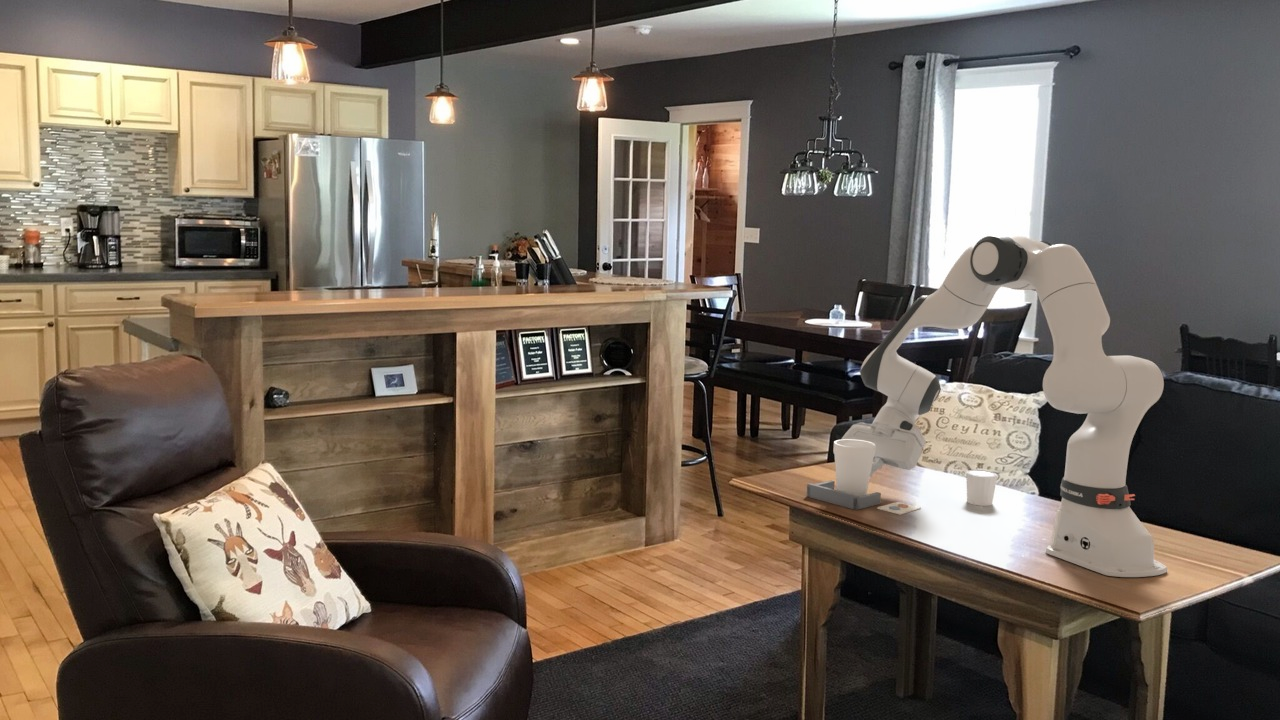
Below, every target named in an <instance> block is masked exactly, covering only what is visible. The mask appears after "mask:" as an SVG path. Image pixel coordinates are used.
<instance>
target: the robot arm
mask: <svg viewBox="0 0 1280 720" xmlns="http://www.w3.org/2000/svg"><path fill="white" fill-rule="evenodd" d="M1001 287H1004V288H1007V289H1011V290H1018V291H1035V292H1036V294H1037V297H1038V299H1039V303H1040V306H1041V308H1042V311H1043V313H1044V316H1045V319H1046V322H1047V325H1048V328H1049V331H1050V334H1051V337H1052V342H1053V343H1052V344H1053V354H1052V355H1053V356H1052V360H1051V363H1050V365H1049V366H1048V367H1047V369H1046V370H1045V373H1044V375H1043V379H1042V390H1043V395H1044V397H1045V399H1046V401H1047V402H1048V404H1049V405H1050V406H1051V407H1052V408H1054V409H1056V410H1059V411H1063V412H1067V413H1073V414H1077V415H1079V414H1080V415H1082V414H1085V415H1086V414H1087V416H1086V418H1085V420H1084V421H1083V423H1082V425H1081V426H1080V427H1079V428H1078V429H1077V430H1076V431H1075V432H1073V434H1071V436H1070V437H1069V439H1068V440H1067V446H1066V454H1065V455H1066V456H1065V468H1064V476H1063V477H1062V479H1061V483H1060V487H1059V488H1060V491H1059V492H1060V494H1059V495H1060V497H1061V501H1060V504H1059V507H1058V509H1057V511H1056V513H1055V518H1054V523H1053V528H1052V534H1051V537H1050V538H1051V539H1050V542H1049V545H1048V546H1046V549H1045V553H1046V554H1048V555H1050V556H1052V557H1056V558H1059V559H1060V560H1064V561H1066V562H1069V563H1072V564H1075V565H1077V566H1080V567H1083V568H1084V569H1085V568H1086V569H1088V570H1091V571H1094V572H1096V573H1098V574H1102V575H1104V576H1109V577H1118V578H1119V577H1120V578H1142V577H1143V578H1144V577H1145V578H1147V577H1153V576H1161V575H1165V574H1166V573H1167V572H1168V567H1167V566H1166V565H1165V564H1163V563H1162V562H1160V561H1158V560H1156V559H1155V544H1154V538H1153V536H1152V535H1151V533H1150V531H1149V530H1148V529H1146V527H1145V525H1143V523H1142V521H1140V519H1139V518H1138V517H1137V515H1136V514H1135V512H1134V511H1133V510H1132V508H1131V507H1130V506H1131V503H1132V502H1131V501H1135V498H1132V497H1136V495H1135V494H1134V493H1132V494H1130V493H1129V489H1128V485H1127V484H1126V482H1127V481H1126V480H1127V471H1128V463H1129V455H1130V450H1131V445H1132V443H1133V442H1132V441H1133V438H1134V436H1135V435H1136V431H1137V429H1138V427H1139V425H1140V423H1141V422H1142V420H1143V418H1144V416H1145V414H1146V413H1147V412H1148V410H1149V409H1150V408H1151V407H1152V406H1154V404H1156V403H1157V402H1158V401H1159V400H1160V398H1161V397H1162V394H1163V391H1164V386H1165V382H1164V376H1163V373H1162V370H1161V369H1160V368H1159V367H1158V365H1157V364H1156V363H1154V361H1151V360H1149V359H1145V358H1143V357H1139V356H1133V355H1106V354H1105V351H1104V348H1103V342H1102V339H1103V338H1102V337H1103V336H1104V335H1105V333H1106V332H1107V330H1108V329H1109V327H1110V323H1111V317H1110V314H1109V312H1108V310H1107V307H1106V305H1105V302H1104V300H1103V296H1102V295H1101V293H1100V289H1099V287H1098V284H1097V282H1096V280H1095V278H1094V275H1093V273H1092V271H1091V270H1090V268H1089V266H1088V264H1087V263H1086V261H1085V260H1084V257H1082V255H1081V253H1080V252H1079V250H1078V249H1076V247H1074V246H1072V245H1070V244H1065V243H1057V244H1052V243H1051V242H1048V241H1044V240H1037V239H1033V238H1029V237H1026V236H1019V235H1005V234H992V235H987V236H985V237H982V238H981V239H979V240H978V241H977V242H976V243H975V245H973V246H972V245H971V246H969V247H968V248H967V249H965V250H964V252H962V254H961V255H960V256H959V258H958V259H957V260H956V261H955V263H954V264H953V266H952V267H951V269H950V270H949V272H948V273H947V275H946V277H945V279H944V280H943V282H942V283H941V285H940V287H939V288H937V290H935V291H934V292H933V293H931V294H929V295H927V294H926V295H920V297H918V298H917V299H916V300H915V301H914V302H913V303H912V304H911V305H910V307H909V308H908V309H907V310H906V311H905V312H904V313H903V315H901V316H900V318H899V319H898V321H897V322H896V323H895V324H894V326H893V327H892V328H891V329H890V330H889V332H888V333H887V334H886V336H885V337H884V339H883V340H882V341H881V343H880V344H879V345H878V346H877V347H876V348H874V349H873V350H872V351H871V352H870V353H869V354H868V355H867V356H866V358H865V359H864V361H863V362H862V364H861V367H860V371H859V375H860V377H861V379H862V382H863V384H864V386H865V387H866V388H869V389H872V390H873V391H876V392H879V393H881V394H882V395H885V396H887V399H886V403H884V405H883V406H881V408H880V409H879V411H878V412H877V414H876V416H875V418H874V419H873V421H872V423H865V422H861V421H859V422H858V423H854V424H852V425H851V426H850V428H849V429H848V430H847V431H846V432H845V434H844V435H843V436H842V437H841V439H840V440H842V439H855V440H864V441H868V442H872V443H874V444H875V456H874V458H873V463H872V468H871V473H870V478H871V477H872V476H873V474H874V473H875V472H877V471H878V470H879V469H881V468H882V467H883V465H884V466H885V465H886V466H889V467H892V468H893V467H894V468H898V469H903V470H906V471H911V470H913V469H914V468H915V467H916V465H917V464H918V463H919V460H920V458H921V456H922V453H923V449H922V448H924V447H925V446H926V443H927V441H926V439H925V436H924V435H923V433H922V431H921V430H920V429H919V427H918V426H917V425H916V420H917V419H918V418H919V417H920V416H922V415H925V414H928V413H930V411H931V408H932V406H933V404H934V402H935V401H936V399H937V398H938V397H939V395H940V394H941V390H942V387H941V383H940V379H939V378H938V376H937V375H935V374H934V373H933V372H931V371H929V370H928V369H926V368H924V367H922V366H920V365H917V364H916V363H914V362H912V361H910V360H908V359H907V358H904V357H903V356H900V355H899V354H898V352H897V351H898V349H899V348H900V347H901V346H902V344H903V343H904V342H905V341H906V339H907V338H908V337H909V336H910V334H912V332H913V331H914V330H916V329H918V328H922V327H925V328H926V327H929V328H937V329H939V328H940V329H945V330H961V329H962V330H963V329H966V328H969V327H972V326H974V325H975V324H976V323H977V322H979V320H980V319H981V318H982V316H983V315H984V314H985V312H986V311H987V310H988V308H989V306H990V304H991V302H992V301H993V298H994V296H995V295H996V293H997V291H998V290H999V289H1000V288H1001Z"/></svg>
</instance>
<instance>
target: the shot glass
mask: <svg viewBox="0 0 1280 720" xmlns="http://www.w3.org/2000/svg"><path fill="white" fill-rule="evenodd" d="M997 480H998V474H997V473H995V472H992V471H990V470H989V471H988V470H984V469H983V470H980V469H971V470H967V471H966V502H967V503H968V504H970V505H973V506H979V507H982V506H983V507H984V506H985V507H987V506H992V505H993V502H994V494H995V491H996V483H997Z"/></svg>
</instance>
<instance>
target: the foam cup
mask: <svg viewBox="0 0 1280 720" xmlns="http://www.w3.org/2000/svg"><path fill="white" fill-rule="evenodd" d="M841 439H842V438H841ZM841 439H837V440H834V441H833V450H832V451H833V454H834V466H835V482H836V490H838V491H842V492H846V493H850V494H854V495H858V496H864V495H868V488H869V483H870V478H871V477H870V473H871V468H872V464H873V463H874V462H873V458H874V456H875V444H874V443H872V442H868V441H864V440H855V439H842V440H841Z"/></svg>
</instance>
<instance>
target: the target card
mask: <svg viewBox="0 0 1280 720" xmlns="http://www.w3.org/2000/svg"><path fill="white" fill-rule="evenodd" d="M876 509H878V510H881V511H885V512H888V513H893V514H896V515H899V516H900V515H905V514H908V513H911V512H914V511H918V510H921V507H920V506H916V505H915V506H914V505H912V504H908V503H904V502H900V501H896V502H892V503H888V504H885V505H881V506H877V507H876Z"/></svg>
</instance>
